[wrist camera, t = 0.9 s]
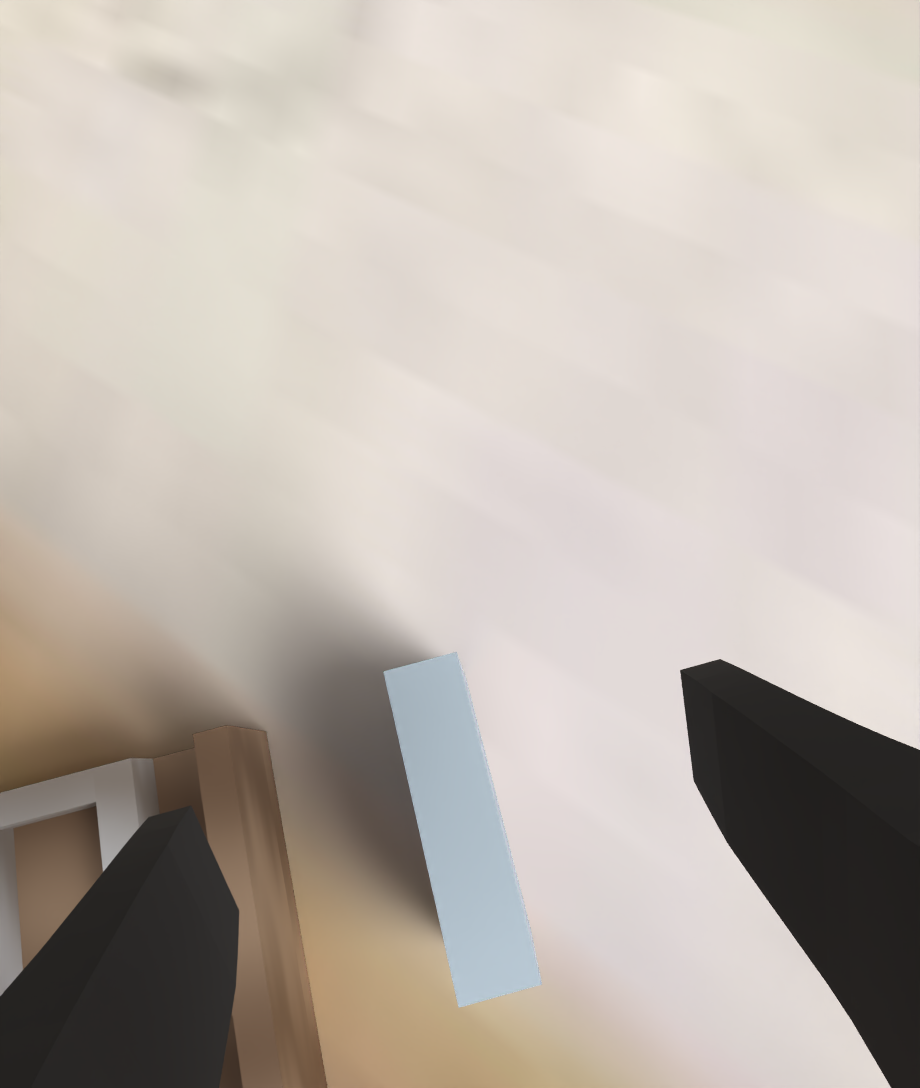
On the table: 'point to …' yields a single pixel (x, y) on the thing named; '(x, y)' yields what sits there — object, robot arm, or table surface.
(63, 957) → the robot arm
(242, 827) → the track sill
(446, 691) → the door panel
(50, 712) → the table surface
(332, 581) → the table surface
